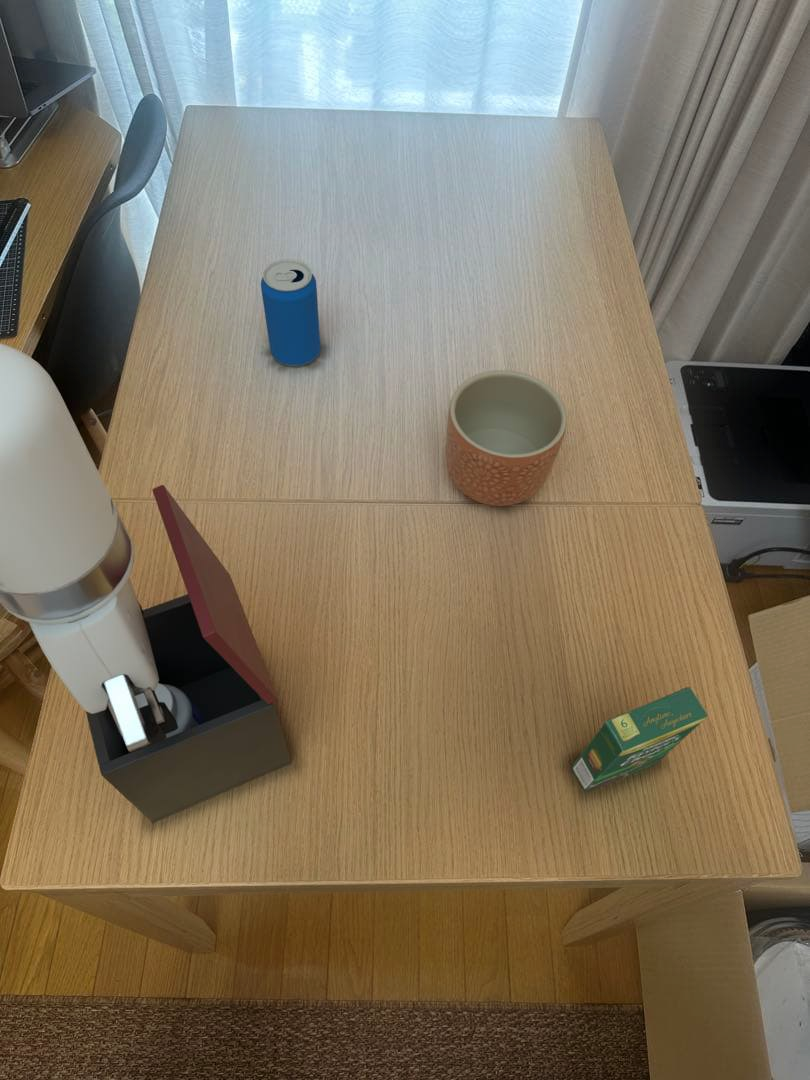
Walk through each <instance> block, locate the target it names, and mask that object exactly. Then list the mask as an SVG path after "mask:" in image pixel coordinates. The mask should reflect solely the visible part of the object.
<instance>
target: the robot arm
mask: <svg viewBox="0 0 810 1080" xmlns="http://www.w3.org/2000/svg"><path fill="white" fill-rule="evenodd" d="M134 563H135V545H134V542H133V539H132V536H131V534H130V532H129V529H127V526H126V525H125V522H124V521H123V519H122V517H121V515H120V512H119V511H118V508H117V506H116V504H115V501H114V500H113V498H112V495H111V494H110V492H109V489H108V488H107V486H106V484H105V482H104V480H103V478H102V476H101V474H100V472H99V470H98V468H97V466H96V464H95V462H94V460H93V458H92V456H91V454H90V452H89V450H88V448H87V446H86V443H85V442H84V440H83V437H82V435H81V434H80V431H79V430H78V427H77V425H76V423H75V421H74V419H73V417H72V415H71V413H70V411H69V409H68V406H67V404H66V402H65V401H64V399H63V397H62V395H61V393H60V391H59V389H58V387H57V386H56V384H55V382H54V380H53V379H52V377H51V375H50V374H49V373H48V372H47V371H46V369H45V368H44V367H43V366H42V365H41V364H40V363H39V362H38V361H36V360H35V359H33V358H32V357H31V356H29V355H28V354H27V353H25V352H24V351H21V350H19V349H17V348H15V347H12V346H10V345H7V344H4V343H0V604H1V606H2V607H3V608H4V609H5V611H8V612H9V613H10V614H11V615H12V616H14V617H16V618H18V619H20V620H23V621H24V622H28V624H29V626H30V628H31V630H32V633H33V635H34V637H35V639H36V641H37V643H38V645H39V646H40V647H39V648H40V649H41V650H42V653H43V654H44V656H45V657H46V659H47V661H48V662H49V664H50V666H51V667H52V669H53V671H54V672H55V673H56V675H57V676H58V677H59V679H60V680H61V682H62V683H63V684H64V687H66V689H67V690H68V691H69V693H70V695H72V697H73V698H74V700H75V701H76V702H77V703H78V705H79V706H80V707H81V708H82V709H83V711H84V712H86V711H87V712H89V713H92V714H94V713H97V712H100V711H103V710H106V708H107V705H108V707H109V709H110V711H111V714H112V716H113V718H114V720H115V723H116V725H117V728H118V729H119V732H120V734H121V736H122V737H123V740H124V741H125V744H126V746H127V749H128V751H129V752H131V751H133V750H136V749H138V748H141V747H143V746H151V745H154V744H156V743H159V742H161V741H163V740H164V739H165V738H166V734H168V733H170V732H173V731H175V730H177V729H178V725H177V722H176V720H175V718H174V716H173V715H172V713H171V712H170V710H169V709H168V707H167V706H166V704H165V702H159V701H158V699H157V696H156V694H155V691H154V689H155V688H156V686H157V684H158V682H159V676H158V672H157V668H156V665H155V661H154V657H153V653H152V649H151V645H150V641H149V637H148V634H147V630H146V626H145V623H144V619H143V614H144V613H143V610H144V609H143V607H142V605H141V604H140V602H139V600H138V597H137V593H136V591H135V588H134V586H133V582H132V580H131V578H130V576H131V574H132V571H133V567H134ZM127 675H128V676H129V678H130V679H131V682H129V679H128V676H127ZM142 693H144V695H145V698H146V700H147V703H148V705H146V706H143V707H141V708H139V707H138V704H137V701H136V698H135V696H136V695H139V694H142Z"/></svg>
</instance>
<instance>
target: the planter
mask: <svg viewBox="0 0 810 1080" xmlns="http://www.w3.org/2000/svg"><path fill="white" fill-rule="evenodd" d="M446 421H447V422H446V440H445V450H444V453H445V454H444V455H445V465H446V469H447V472H448V475H449V477H450V479H451V480H452V482H453V483H454V485H455V486H456V487H457V489H458V490H460V492H461V493H462V494H464V495H465V496H467V497H468V498H470V499H472V500H473V501H476V502H478V503H481V504H484V505H487V506H494V507H506V506H512V505H517V504H520V503H522V502H524V501H525V502H526V501H527V500H528V499H530V498H531V497H533V496H534V495H535V494H537V493H538V491H540V490H541V488H542V487H543V486H544V485H545V483H546V481H547V480H548V478H549V476H550V474H551V471H552V468H553V466H554V463H555V461H556V458H557V456H558V453H559V451H560V449H561V446H562V445H563V444H562V443H563V441H564V439H565V435H566V431H567V428H568V427H567V426H568V414H567V409H566V406H565V404H564V402H563V400H562V399H561V397H560V396H559V394H558V393H557V392H556V391H555V390H554V389H553V388H552V387H551V386H550V385H548V384H547V383H545V382H544V381H543V380H541V379H539V378H537V377H535V376H533V375H530V374H527V373H525V372H520V371H515V370H508V369H507V370H500V369H499V370H489V371H485V372H481V373H478V374H475V375H473V376H471V377H470V378H468V379H466V380H465V381H463V382H462V383H461V384H460V385H459V386H458V387H457V389H456V390H455V391H454V393H453V395H452V397H451V400H450V402H449V406H448V411H447V420H446Z"/></svg>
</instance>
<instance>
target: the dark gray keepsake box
mask: <svg viewBox="0 0 810 1080" xmlns="http://www.w3.org/2000/svg"><path fill="white" fill-rule="evenodd" d="M142 610H143V613H144V614H143V619H144V623H145V626H146V630H147V634H148V637H149V641H150V645H151V649H152V653H153V657H154V661H155V665H156V668H157V672H158V676H159V682H158V683H160V684H164V685H171V686H174V687H176V688H178V689H179V690H181V691H182V692H183V693H184V694H185V695H186V696H187V697H188V698H189V699H190V700H191V701H192V702H193V704H194V705H195V706H196V707H197V708H198V709H199V711H200V712H201V713H202V714H203V715H204V716H205V718H206V720H207V722H205V723H203V724H200V725H198V726H195V727H193V728H190V729H188V730H185V731H183V732H181V733H178V734H176V735H173V736H171V737H168V738H166V739H164V740H163V741H161V742H159V743H156V744H154V745H151V746H146V747H143V748H138V749H136V750H133V751H131V752H129V751H128V749H127V746H126V744H125V741H124V740H123V737H122V736H121V734H120V732H119V729H118V728H117V725H116V723H115V720H114V718H113V716H112V714H111V711H110V709H109V707H108V705H107V708H106V710H103V711H100V712H97V713H94V714H92V713H89V712H87V711H85V714H86V718H87V723H88V727H89V730H90V734H91V740H92V743H93V748H94V751H95V756H96V760H97V764H98V768H99V772H100V776H101V777H103V778H104V779H105V780H106V781H107V782H108V783H109V784H110V785H111V786H112V787H113V788H115V789H116V790H117V791H118V792H119V793H120V794H121V795H122V796H123V797H124V798H125V799H126V800H127V801H129V802H130V803H131V805H133V806H134V807H135V808H136V809H137V810H138V811H140V812H141V814H143V815H144V816H145V817H146V818H147V819H148V820H149V821H150V822H151V823H152V824H155V823H158V822H160V821H162V820H165V819H167V818H169V817H172V816H173V815H176V814H178V813H180V812H183V811H185V810H187V809H190V808H192V807H195V806H197V805H199V804H201V803H204V802H206V801H209V800H210V799H213V798H216V797H218V796H220V795H222V794H225V793H227V792H229V791H231V790H234V789H236V788H239V787H241V786H243V785H245V784H247V783H250V782H252V781H254V780H257V779H259V778H261V777H264V776H266V775H269V774H270V773H273V772H275V771H279V770H281V769H282V768H284V767H287V766H289V765H291V764H292V760H291V757H290V754H289V750H288V746H287V742H286V740H285V736H284V733H283V729H282V727H281V723H280V720H279V716H278V714H277V713H278V712H277V710H276V707H275V702H273V703H271V704H267V703H266V702H265V701H264V699H263V698H262V697H261V696H260V695H259V694H258V693H257V692H256V691H255V690H254V689H253V688H252V687H251V686H250V685H249V684H248V683H247V682H246V681H245V680H244V679H243V678H242V677H241V676H240V675H239V674H238V673H237V672H236V671H235V670H234V669H233V668H232V667H231V666H230V665H229V663H228V662H227V661H226V660H225V659H224V658H223V657H222V656H221V655H220V654H219V653H218V652H217V651H216V650H215V649H214V648H213V647H212V646H211V645H210V644H209V643H208V642H207V641H206V640H205V639H204V638H203V636H202V633H201V630H200V627H199V624H198V621H197V619H196V616H195V613H194V610H193V607H192V604H191V601H190V598H189V595H188V593H187V594H184V595H181V596H179V597H176V598H173V599H170V600H167V601H164V602H162V603H159V604H156V605H152V606H151V607H148V608H144V609H142ZM127 676H128V675H127ZM128 679H129V682H131V679H130V678H129V676H128Z"/></svg>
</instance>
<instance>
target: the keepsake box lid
mask: <svg viewBox="0 0 810 1080" xmlns="http://www.w3.org/2000/svg"><path fill="white" fill-rule="evenodd" d="M152 493H153V496H154V499H155V502H156V505H157V508H158V511H159V514H160V517H161V520H162V522H163V525H164V528H165V531H166V534H167V536H168V540H169V543H170V545H171V549H172V552H173V555H174V557H175V561H176V563H177V566H178V569H179V572H180V575H181V577H182V580H183V584H184V588H185V589H186V592H187V594H188V595H189V598H190V601H191V604H192V607H193V610H194V613H195V616H196V619H197V621H198V624H199V627H200V630H201V633H202V636H203V638H204V639H205V640H206V641H207V642H208V643H209V644H210V645H211V646H212V647H213V648H214V649H215V650H216V651H217V652H218V653H219V654H220V655H221V656H222V657H223V658H224V659H225V660H226V661H227V662H228V663H229V665H230V666H231V667H232V668H233V669H234V670H235V671H236V672H237V673H238V674H239V675H240V676H241V677H242V678H243V679H244V680H245V681H246V682H247V683H248V684H249V685H250V686H251V687H252V688H253V689H254V690H255V691H256V692H257V693H258V694H259V695H260V696H261V697H262V698H263V699H264V701H265V702H266V703H267V704H271V703H275V702H277V701H278V700H279V699H278V695H277V693H276V690H275V688H274V685H273V683H272V680H271V678H270V675H269V673H268V669H267V667H266V665H265V662H264V660H263V657H262V654H261V651H260V649H259V646H258V644H257V641H256V638H255V636H254V633H253V631H252V628H251V625H250V623H249V620H248V617H247V616H246V613H245V610H244V607H243V605H242V602H241V600H240V599H241V598H240V597H239V595H238V591H237V589H236V586H235V584H234V581H233V578H232V576H231V574H230V573H229V572H228V570H227V569H226V567H225V566H224V565H223V564H222V562H221V561H220V559H219V558H218V557H217V555H216V554H215V552H214V551H213V550H212V548H211V547H210V546H209V544H208V543H207V542H206V540H205V539H204V538H203V536H202V534H200V532H199V531H198V529H197V528H196V527H195V526H194V524H193V522H192V521H191V520H190V519H189V517H188V516H187V515H186V513H185V512H184V510H183V509H182V508H181V506H180V505H179V504H178V502H177V500H175V499H174V497H173V496H172V494H171V492H169V490H168V489H167V487H166V486H165V485H164V484H159V486H156V487H154V488H152Z"/></svg>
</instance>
